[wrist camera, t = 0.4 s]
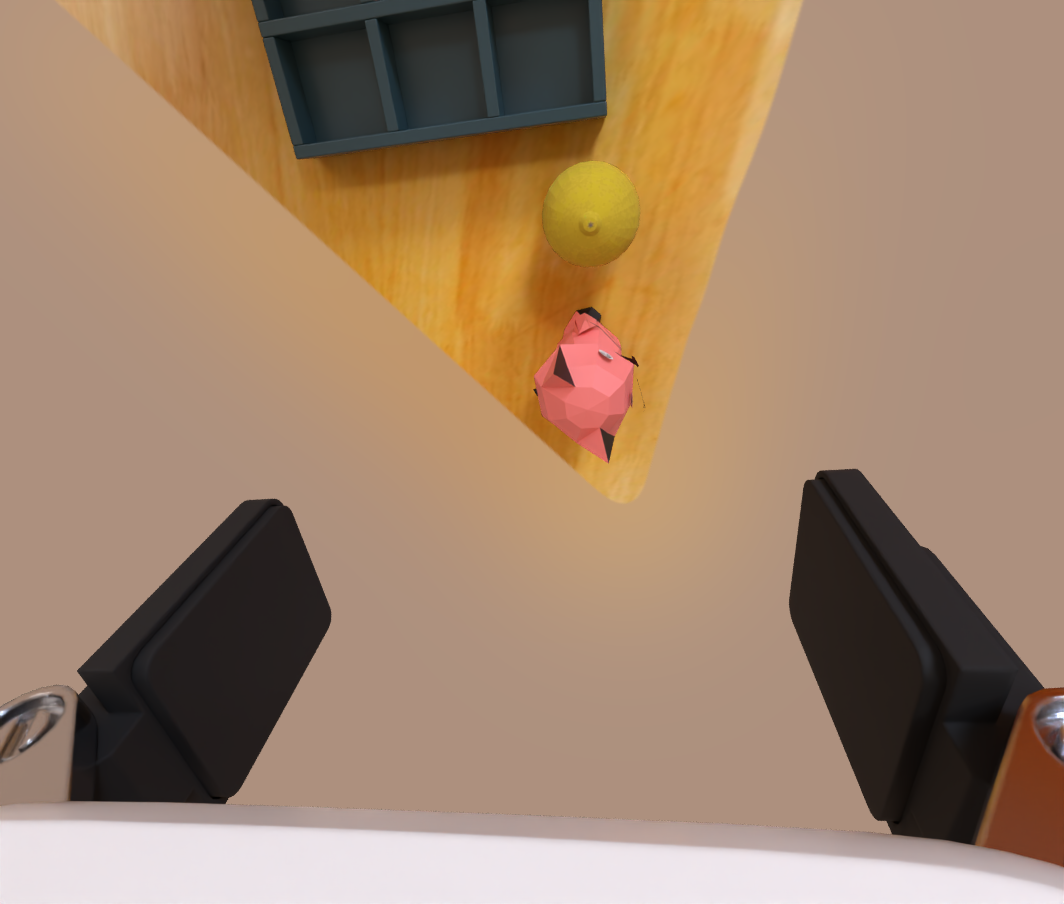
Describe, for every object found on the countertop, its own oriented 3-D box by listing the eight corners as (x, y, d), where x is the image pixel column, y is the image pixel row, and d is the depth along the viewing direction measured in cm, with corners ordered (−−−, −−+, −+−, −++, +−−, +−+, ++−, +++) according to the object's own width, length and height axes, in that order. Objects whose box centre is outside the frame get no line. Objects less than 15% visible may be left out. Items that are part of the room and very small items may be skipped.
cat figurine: (652, 365, 40) (672, 444, 29) (568, 407, 42) (559, 495, 32) (605, 277, 37) (609, 330, 27) (518, 327, 39) (491, 395, 29)
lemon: (577, 270, 37) (573, 300, 30) (530, 194, 35) (514, 207, 28) (651, 221, 35) (665, 241, 28) (607, 138, 33) (610, 137, 26)
